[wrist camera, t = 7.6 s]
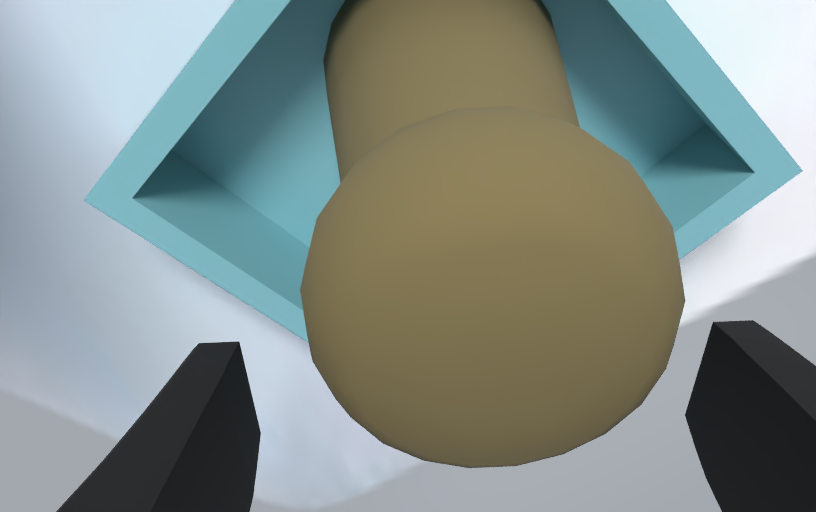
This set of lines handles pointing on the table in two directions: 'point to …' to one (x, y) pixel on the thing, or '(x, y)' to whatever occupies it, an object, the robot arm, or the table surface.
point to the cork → (480, 241)
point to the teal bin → (316, 157)
